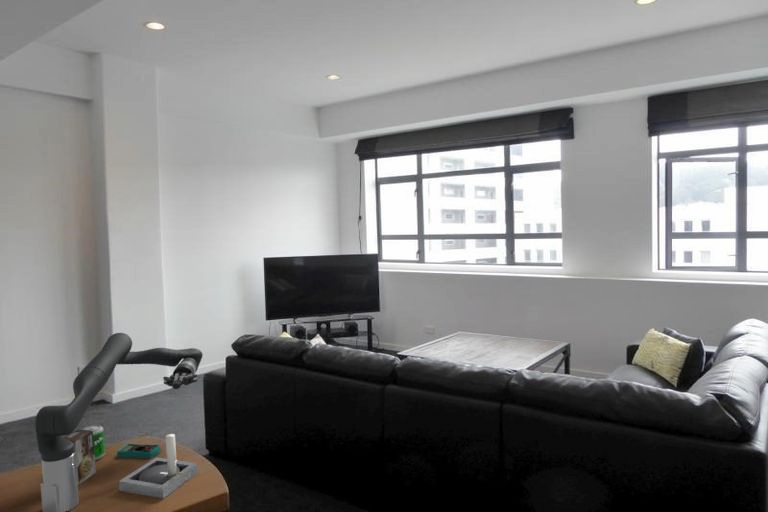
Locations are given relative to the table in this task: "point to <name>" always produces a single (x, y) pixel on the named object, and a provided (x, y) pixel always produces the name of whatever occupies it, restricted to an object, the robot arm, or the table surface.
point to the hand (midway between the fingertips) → (175, 386)
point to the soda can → (97, 440)
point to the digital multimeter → (139, 451)
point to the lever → (164, 471)
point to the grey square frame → (158, 490)
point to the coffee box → (83, 453)
